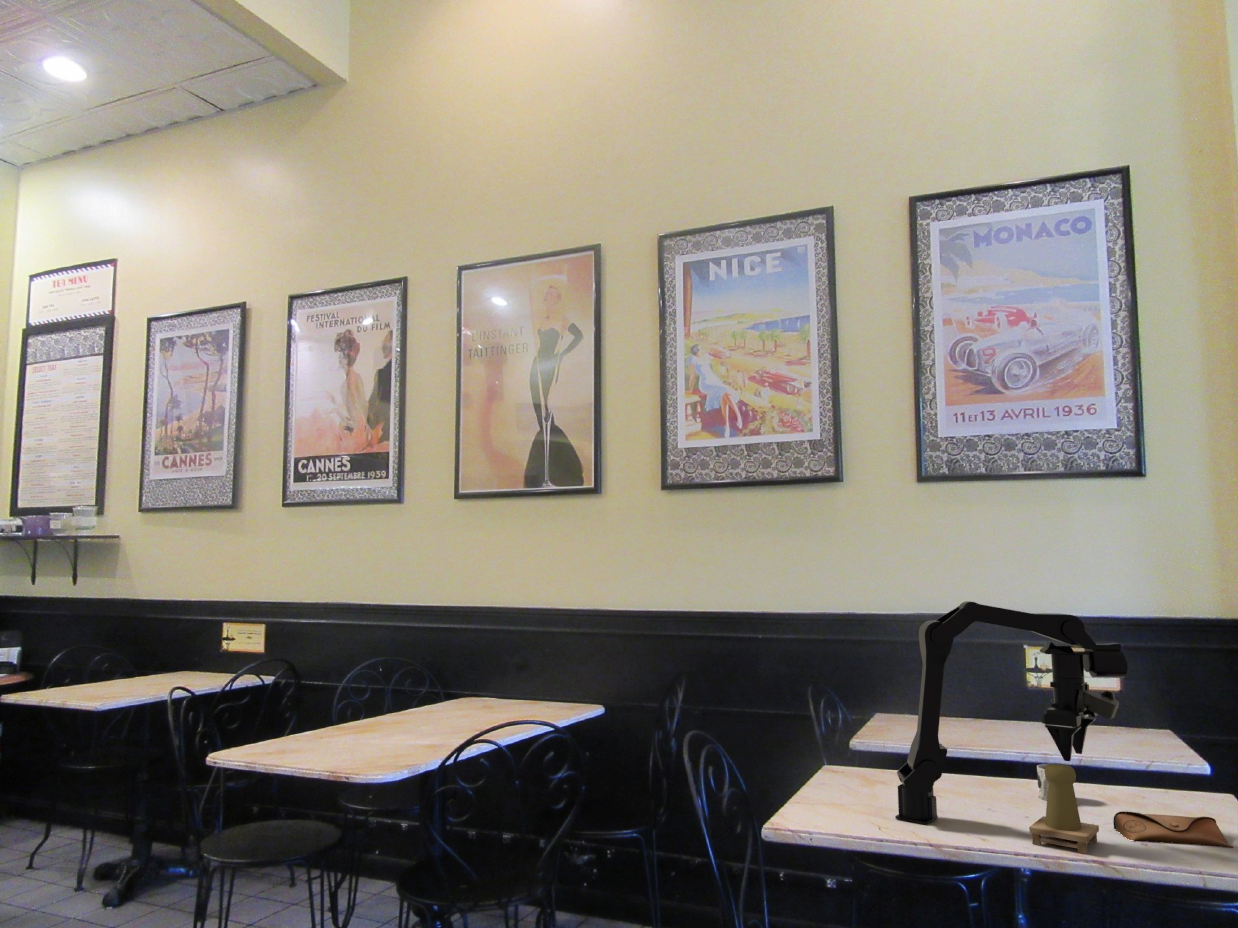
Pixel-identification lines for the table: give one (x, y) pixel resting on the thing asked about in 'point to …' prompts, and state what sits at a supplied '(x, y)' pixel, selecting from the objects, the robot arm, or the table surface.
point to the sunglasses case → (1169, 829)
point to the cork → (1061, 798)
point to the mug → (1042, 782)
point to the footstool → (1064, 835)
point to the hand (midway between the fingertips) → (1073, 757)
